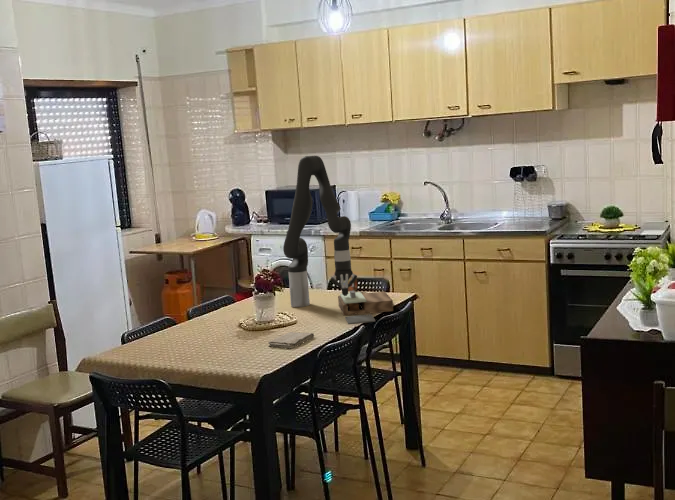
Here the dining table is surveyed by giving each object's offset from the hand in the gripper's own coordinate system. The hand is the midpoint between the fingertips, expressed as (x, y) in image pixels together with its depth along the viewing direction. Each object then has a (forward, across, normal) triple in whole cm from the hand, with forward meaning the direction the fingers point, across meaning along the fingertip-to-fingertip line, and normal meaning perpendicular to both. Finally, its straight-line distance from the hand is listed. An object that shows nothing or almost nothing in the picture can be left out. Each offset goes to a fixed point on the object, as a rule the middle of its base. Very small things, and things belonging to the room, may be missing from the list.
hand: (345, 295), depth 361 cm
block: (+7, -4, 0) cm, 8 cm away
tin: (+7, -7, -44) cm, 45 cm away
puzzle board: (+7, -10, 0) cm, 12 cm away
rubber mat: (+7, -4, +21) cm, 22 cm away
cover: (+2, -4, 0) cm, 4 cm away
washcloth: (+8, +28, +47) cm, 55 cm away
